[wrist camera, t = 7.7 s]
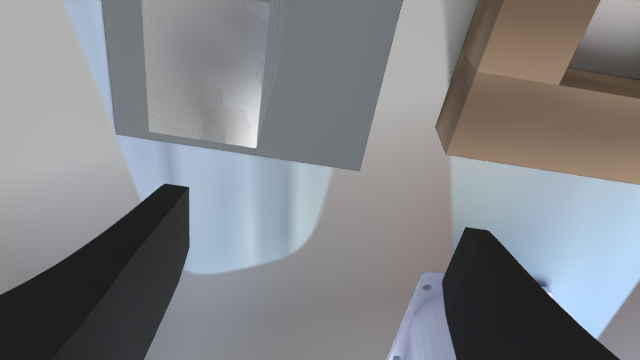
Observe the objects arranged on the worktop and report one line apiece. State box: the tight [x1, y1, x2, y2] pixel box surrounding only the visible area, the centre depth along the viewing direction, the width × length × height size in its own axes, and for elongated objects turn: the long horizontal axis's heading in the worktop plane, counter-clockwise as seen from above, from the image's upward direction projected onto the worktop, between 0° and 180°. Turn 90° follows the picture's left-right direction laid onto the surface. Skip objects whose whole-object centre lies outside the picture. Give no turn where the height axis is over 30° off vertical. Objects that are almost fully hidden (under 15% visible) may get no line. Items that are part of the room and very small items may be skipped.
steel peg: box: [142, 0, 289, 148], centre depth 15 cm, size 3×4×8 cm
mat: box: [102, 0, 403, 171], centre depth 19 cm, size 14×12×1 cm
